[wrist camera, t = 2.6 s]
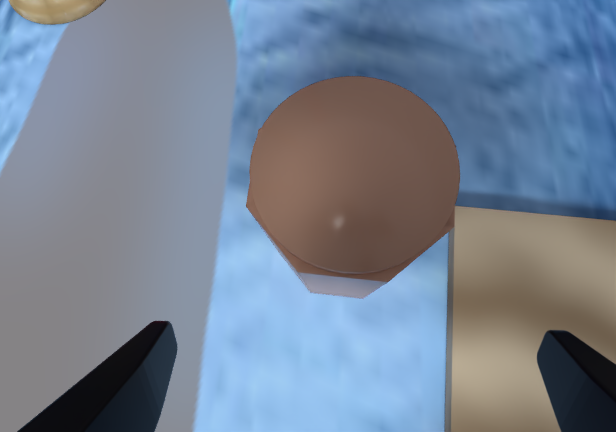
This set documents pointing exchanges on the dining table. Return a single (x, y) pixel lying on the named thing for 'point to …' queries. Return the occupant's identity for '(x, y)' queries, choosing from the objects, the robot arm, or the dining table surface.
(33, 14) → the hand bell
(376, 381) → the dining table surface
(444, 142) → the salmon domed prism
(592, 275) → the birch board
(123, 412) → the robot arm
